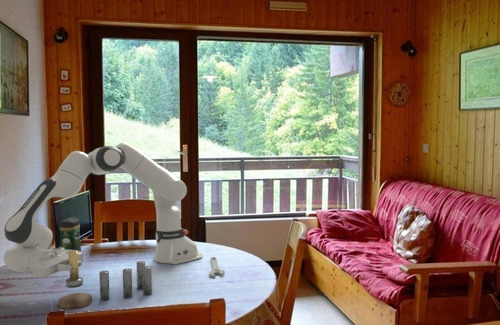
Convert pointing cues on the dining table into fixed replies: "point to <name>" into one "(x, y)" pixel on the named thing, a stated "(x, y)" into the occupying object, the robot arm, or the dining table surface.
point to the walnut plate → (75, 300)
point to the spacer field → (128, 281)
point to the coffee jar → (70, 234)
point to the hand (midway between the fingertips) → (76, 265)
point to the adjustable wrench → (215, 269)
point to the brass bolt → (74, 271)
